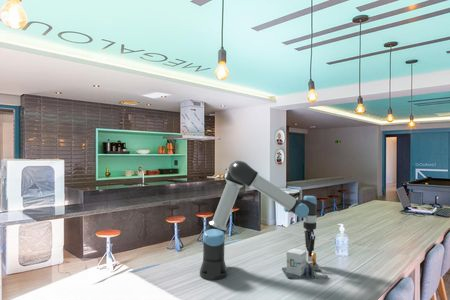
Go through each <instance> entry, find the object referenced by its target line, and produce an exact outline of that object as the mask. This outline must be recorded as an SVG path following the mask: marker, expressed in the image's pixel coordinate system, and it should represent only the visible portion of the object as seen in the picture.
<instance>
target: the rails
mask: <svg viewBox="0 0 450 300" xmlns="http://www.w3.org/2000/svg"><path fill="white" fill-rule="evenodd" d="M317 271H319V273H321V274H315V273H314V279H315V280H317V279H327V280H329V275H328V274H327V273H326V272H325V271H324V270H322V268H321V267H320V266H318V270H317Z"/></svg>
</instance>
